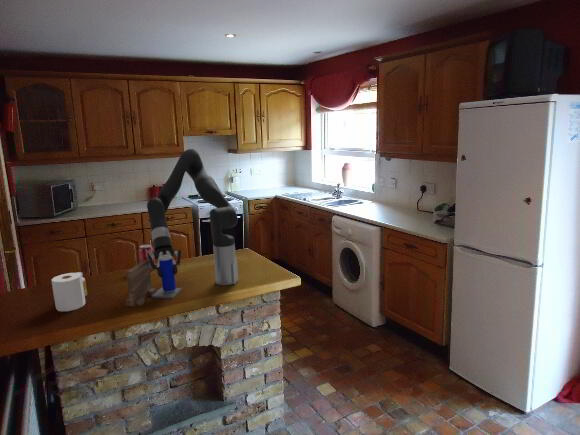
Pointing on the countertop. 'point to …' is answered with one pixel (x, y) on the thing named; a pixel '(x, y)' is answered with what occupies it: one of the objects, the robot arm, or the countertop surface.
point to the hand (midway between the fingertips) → (168, 275)
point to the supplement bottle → (83, 284)
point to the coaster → (165, 293)
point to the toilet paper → (68, 291)
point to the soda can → (146, 253)
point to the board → (139, 284)
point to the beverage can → (167, 273)
